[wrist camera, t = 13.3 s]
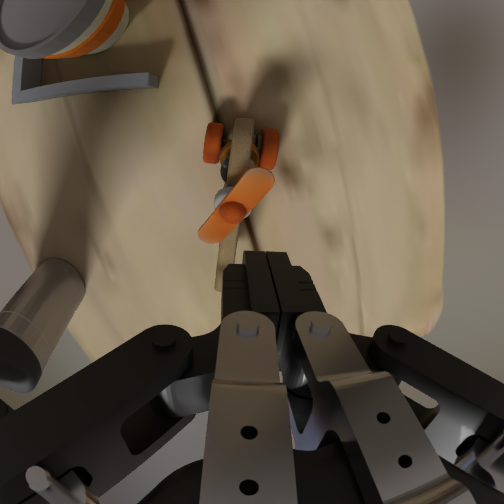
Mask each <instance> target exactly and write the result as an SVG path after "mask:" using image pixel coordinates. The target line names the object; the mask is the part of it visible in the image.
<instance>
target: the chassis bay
mask: <svg viewBox="0 0 504 504" xmlns="http://www.w3.org/2000/svg"><path fill="white" fill-rule="evenodd" d="M42 61H43V58H39V59H28V58H23V57H20V56H17V55H15V61H14V72H13V87H12V104H19V103H29V102H36V101H41V100H46V99H52V98H57V97H64V96H70V95H77V94H85V93H93V92H102V91H113V90H125V89H141V88H158V78H159V76H157V75H154V74H152V73H149V72H146V73H131V74H119V75H109V76H100V77H92V78H85V79H78V80H72V81H66V82H60V83H55V84H50V85H45V86H41V72H42Z"/></svg>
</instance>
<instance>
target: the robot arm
mask: <svg viewBox="0 0 504 504" xmlns="http://www.w3.org/2000/svg"><path fill="white" fill-rule="evenodd" d="M84 294H85V287H84V283H83V280H82V278H81V276H80V274H79V273H78V272H77V270H76V269H75V268H74V267H73V266H72V265H70V264H69V263H67V262H66V261H64V260H61V259H57V258H50V259H47V260H45V261H44V262H43V263H42V264H41V265H40V266H39V267H38V268H37V269H36V270H35V271H34V273H33V274H32V275H31V276H30V277H29V278H28V279H27V280H26V282H25V283H24V284H23V285H22V286H21V287H20V289H19V290H18V291H17V292H16V293H15V294H14V296H13V297H12V298H11V299H10V301H9V302H8V303H7V304H6V306H5V307H4V308H3V309H2V311H1V312H0V386H1V387H4V388H6V389H9V390H11V391H14V392H18V393H28V392H31V391H32V390H33V389H34V388H35V387H36V385H37V384H38V381H39V379H40V377H41V375H42V373H43V371H44V369H45V367H46V365H47V363H48V361H49V359H50V357H51V355H52V353H53V351H54V349H55V347H56V345H57V344H58V342H59V340H60V338H61V336H62V334H63V332H64V331H65V329H66V327H67V325H68V323H69V322H70V320H71V318H72V316H73V315H74V313H75V311H76V310H77V308H78V306H79V304H80V303H81V301H82V299H83V298H84ZM279 371H281V372H282V376H283V379H282V383H280V378H279ZM402 380H403V381H404V382H406V383H408V384H409V385H411V386H413V387H414V388H416V389H418V390H420V391H421V392H423V393H425V394H426V395H428V396H430V397H431V398H433V399H435V400H436V401H437V402H438V403H439V404H438V405H437V406H436V407H435V408H431V409H429V408H425V407H423V406H422V405H420V404H418V403H417V402H415V401H413V400H412V399H410V398H408V397H407V396H405V395H403V393H402V392H401V390H400V388H399V387H398V386H399V384H400V383H401V381H402ZM205 411H209V412H208V421H207V431H206V440H205V449H204V459H201V460H198V461H195V462H192V463H190V464H187V465H185V466H183V467H181V468H179V469H177V470H176V471H174V472H173V473H171V474H170V475H169V476H167V477H166V478H165V479H164V480H162V481H161V482H160V483H159V484H158V485H157V486H156V487H155V488H154V489H153V490H152V491H151V492H150V493H149V494H147V495H146V496H145V497H144V498H143V499H142V500H141V501H140V502H139V503H137V504H504V384H503V383H501V382H500V381H498V380H496V379H494V378H492V377H491V376H489V375H487V374H485V373H483V372H482V371H480V370H478V369H476V368H474V367H472V366H471V365H469V364H467V363H465V362H464V361H462V360H460V359H458V358H457V357H454V356H453V355H451V354H449V353H447V352H446V351H444V350H442V349H440V348H439V347H436V346H435V345H433V344H431V343H430V342H428V341H426V340H424V339H422V338H421V337H419V336H417V335H415V334H413V333H411V332H410V331H408V330H406V329H404V328H402V327H399V326H395V325H384V326H381V327H379V328H378V329H376V331H375V333H374V335H373V338H372V337H366V336H361V335H355V334H351V333H348V331H347V329H346V328H345V326H344V324H343V323H342V322H341V321H340V320H339V319H338V318H336V317H335V316H333V315H331V314H328V313H327V312H326V310H325V308H324V305H323V303H322V301H321V299H320V296H319V294H318V292H317V291H316V288H315V285H314V284H313V281H312V279H311V277H310V274H309V273H308V272H307V271H305V270H304V269H303V268H302V267H301V266H292V265H291V263H290V260H289V258H288V255H287V253H286V252H269V251H266V252H265V251H244V252H243V262H242V264H228V265H227V266H226V268H225V269H224V270H223V276H222V300H221V324H220V325H219V326H218V327H217V328H216V329H215V330H214V331H212V332H210V333H207V334H205V335H201V336H196V337H191V336H190V334H189V333H188V332H187V331H185V330H184V329H182V328H180V327H177V326H173V325H156V326H153V327H150V328H148V329H146V330H144V331H143V332H141V333H139V334H138V335H136V336H135V337H133V338H131V339H130V340H128V341H127V342H125V343H123V344H122V345H120V346H119V347H117V348H115V349H114V350H112V351H111V352H109V353H107V354H106V355H104V356H103V357H101V358H99V359H98V360H96V361H95V362H93V363H91V364H90V365H88V366H86V367H85V368H83V369H82V370H80V371H78V372H77V373H75V374H74V375H72V376H70V377H69V378H67V379H65V380H64V381H62V382H61V383H59V384H57V385H56V386H54V387H53V388H51V389H49V390H48V391H46V392H44V393H43V394H41V395H39V396H38V397H36V398H35V399H33V400H31V401H30V402H28V403H26V404H25V405H23V406H21V407H20V408H18V409H17V410H13V409H12V408H11V407H10V406H8V405H7V404H6V403H5V402H4V401H2V400H1V399H0V504H101V503H100V501H99V499H98V498H99V497H100V496H101V495H103V494H104V493H105V492H107V491H108V490H109V489H111V488H112V487H113V486H115V485H116V484H117V483H118V482H120V481H121V480H122V479H124V478H125V477H126V476H127V475H128V474H130V473H131V472H132V471H134V470H135V469H136V468H137V467H138V466H140V465H141V464H142V463H143V462H145V461H146V460H147V459H148V458H149V457H151V456H152V455H153V454H154V453H155V452H156V451H158V450H159V449H160V448H161V447H162V446H164V445H165V444H166V443H167V442H168V441H169V440H170V439H172V438H173V437H174V436H175V435H176V434H177V433H178V432H179V431H181V430H182V429H183V428H184V427H185V426H186V425H187V424H188V423H190V422H191V421H192V420H193V418H194V417H195V415H196V413H200V412H205ZM291 430H292V434H293V437H294V442H295V449H293V446H292V436H291Z"/></svg>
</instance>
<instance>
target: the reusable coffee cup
mask: <svg viewBox="0 0 504 504" xmlns="http://www.w3.org/2000/svg"><path fill="white" fill-rule="evenodd" d="M128 22H129V9H128V6H127V4H126V2H125V0H0V49H2V50H3V51H5V52H7V53H10V54H13V55H17V56H20V57H23V58H28V59H39V58H45V59H54V58H73V57H78V56H82V55H84V54H96V53H99V52H102V51H104V50H106V49H108V48H110V47H111V46H112V45H114V44H115V43H116V42H117V41H118V40H119V39H120V38H121V36H122V35H123V33H124V32H125V30H126V28H127V25H128Z"/></svg>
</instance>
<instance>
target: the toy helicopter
mask: <svg viewBox="0 0 504 504" xmlns="http://www.w3.org/2000/svg"><path fill="white" fill-rule="evenodd" d="M223 131H224V125H223V124H221V123H214V122H211V123H209V124H208V126H207V130H206V136H205V142H204V151H203V160H204V162H206V163H213V164H216V163H218V162H219V160H220V163H221V170H220V171H221V176H222V179H223V180H224V182H225V184H224V187H223V189H221V190H219V191H218V192H217V194H216V196H215V200H214V208H215V211H214V212H213V213H212V215H211V216H210V217H209V218H208V219H207V220H206V222H205V223H204V224H203V225H202V226H201V227H200V229H199V230H198V237H199V239H200V240H202V241H203V242H206V243H212V244H214V243H219V242H220V243H219V253H218V262H217V269H216V279H215V290H216V291H219V292H222V276H223V270H224V269H225V268H226V266H227V265H228V264H234V262H235V255H236V248H237V241H238V233H239V227H240V222H241V221H242V220H243V219H244V218H246V217H247V216H249V215H250V213H251V211H252V209H253V208H254V207H255V206H256V205H257V204H258V203H259V201H260V200H261V199H262V198H263V197H264V196H265V195H266V194H267V193H268V191H269V190H270V189H271V188H272V187H273V185H274V181H275V179H274V176H273V174H272V172H270V171H269V170H271V169H273V168H274V166H275V164H276V160H277V155H278V148H279V133H278V131H277V130H273V129H267V128H264V129H263V130H262V131H261V134H260V136H259V135H253V134H254V119H252V118H241V117H238V118H236V120H235V124H234V131H233V137H232V140H229V139H223ZM221 147H223V148H222V149H221ZM257 166H258V167H257Z"/></svg>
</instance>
